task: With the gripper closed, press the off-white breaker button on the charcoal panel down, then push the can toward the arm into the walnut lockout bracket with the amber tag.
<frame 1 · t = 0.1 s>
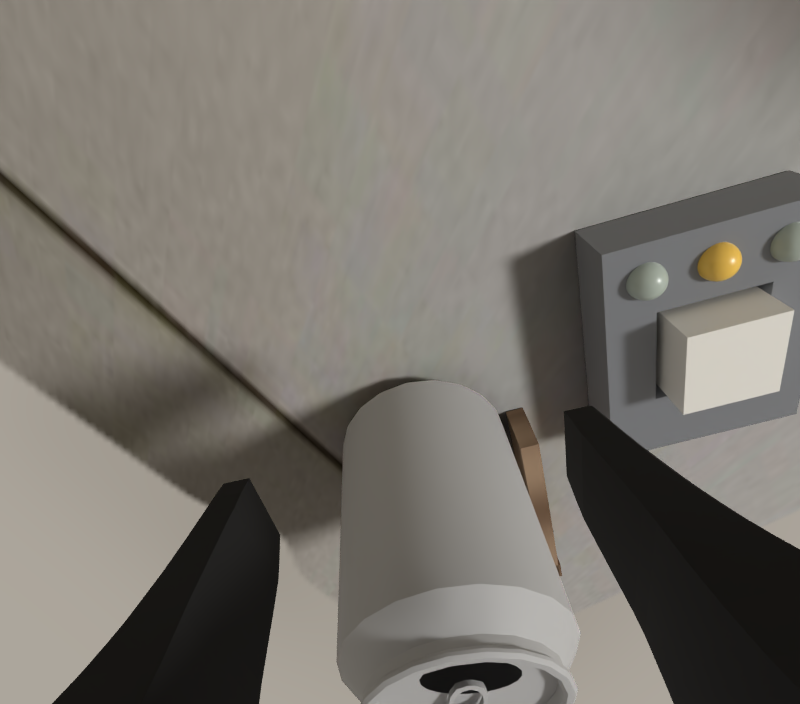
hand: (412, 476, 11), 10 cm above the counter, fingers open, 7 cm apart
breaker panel: (675, 313, 21), on the counter
lockout bracket: (452, 524, 28), on the counter
breaker: (717, 349, 19), point 3 cm above the counter, slide at 0.0 cm
can: (421, 430, 24), on the counter
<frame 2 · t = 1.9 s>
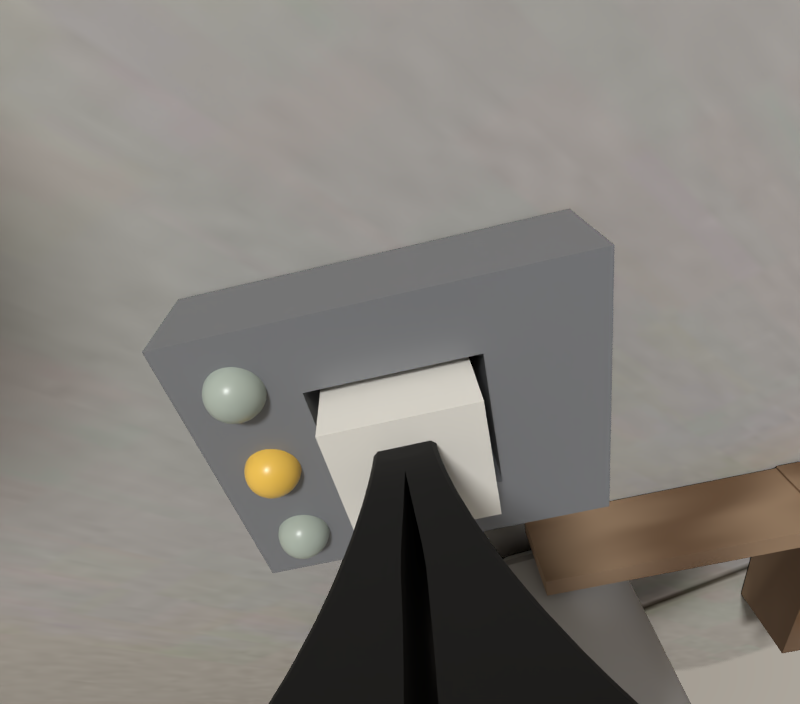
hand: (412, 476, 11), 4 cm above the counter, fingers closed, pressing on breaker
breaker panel: (403, 382, 15), on the counter
lockout bracket: (703, 561, 20), on the counter
breaker: (411, 445, 12), point 3 cm above the counter, slide at 0.3 cm, touching gripper
can: (531, 589, 21), on the counter
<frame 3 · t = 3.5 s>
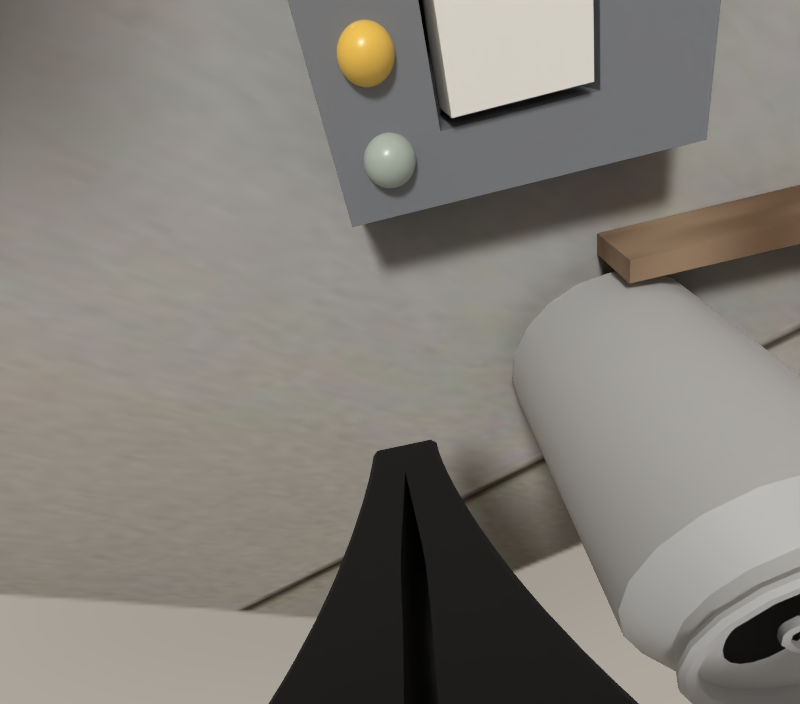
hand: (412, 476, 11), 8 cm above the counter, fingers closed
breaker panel: (487, 18, 14), on the counter
lockout bracket: (774, 308, 20), on the counter
breaker: (503, 16, 12), point 2 cm above the counter, slide at 1.1 cm
can: (596, 345, 20), on the counter
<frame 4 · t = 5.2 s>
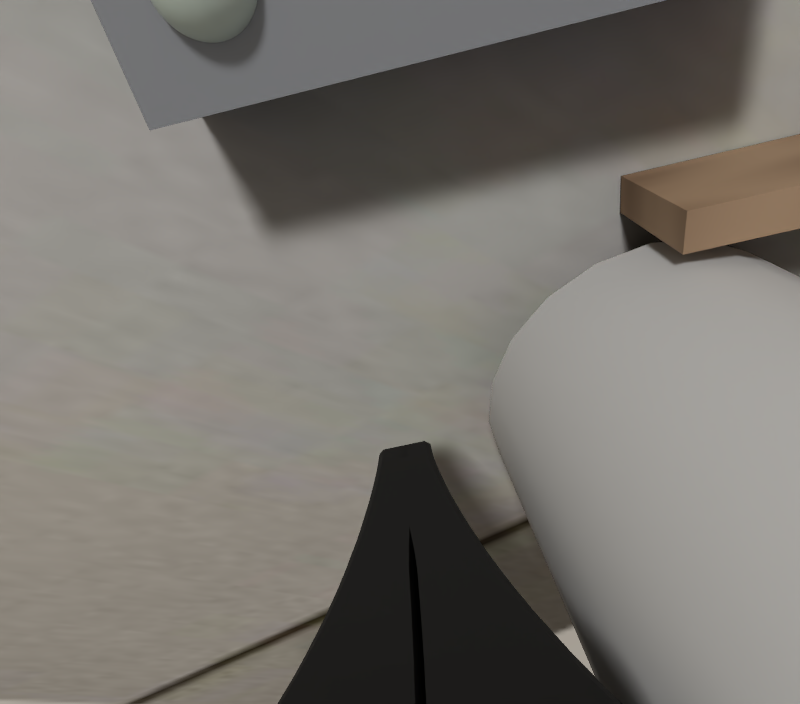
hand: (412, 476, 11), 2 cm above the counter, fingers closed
can: (616, 363, 13), on the counter, touching gripper
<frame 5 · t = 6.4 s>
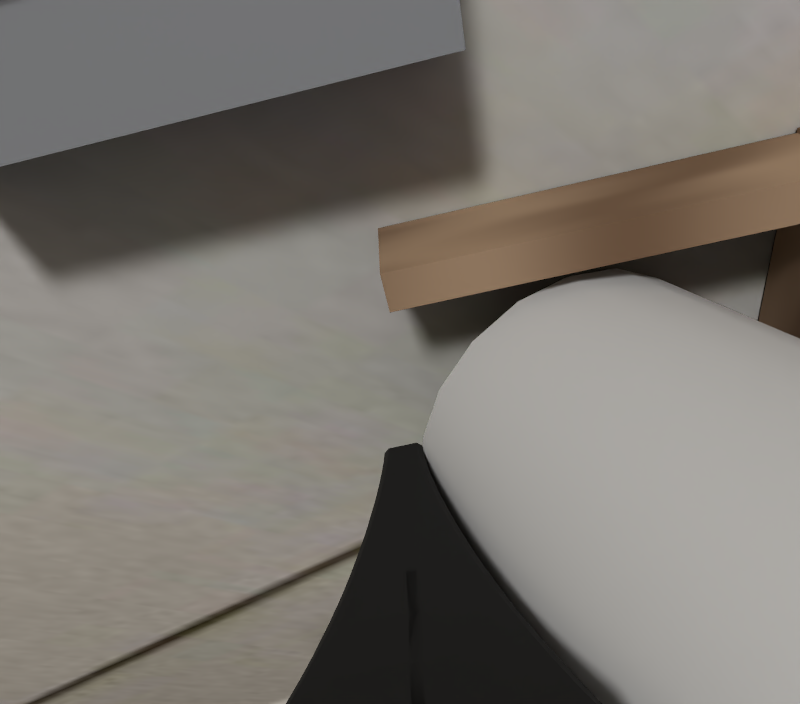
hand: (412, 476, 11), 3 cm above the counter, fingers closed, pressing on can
lockout bracket: (678, 345, 13), on the counter
can: (541, 396, 13), point 1 cm above the counter, touching gripper
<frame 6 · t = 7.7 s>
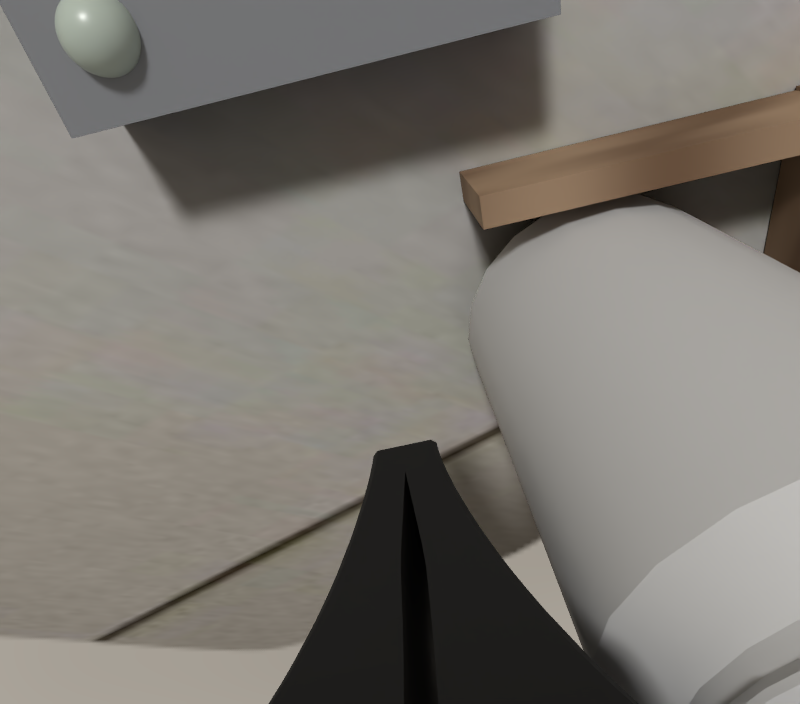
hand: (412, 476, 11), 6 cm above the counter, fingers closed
lockout bracket: (698, 275, 16), on the counter
can: (575, 301, 16), on the counter
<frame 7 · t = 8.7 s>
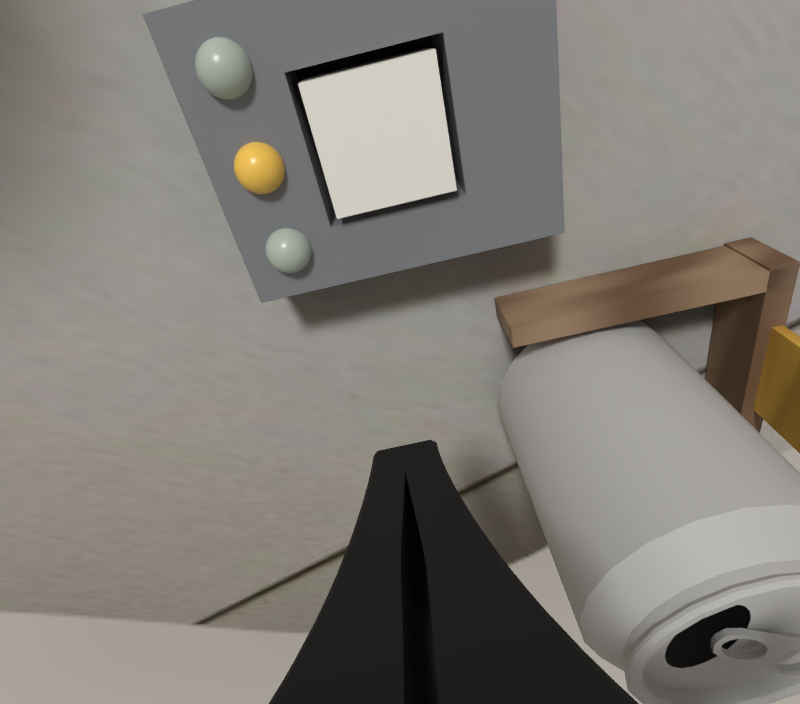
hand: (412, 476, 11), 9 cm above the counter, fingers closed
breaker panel: (378, 124, 16), on the counter
lockout bracket: (663, 360, 22), on the counter
breaker: (380, 133, 15), point 2 cm above the counter, slide at 1.1 cm
can: (574, 376, 22), on the counter
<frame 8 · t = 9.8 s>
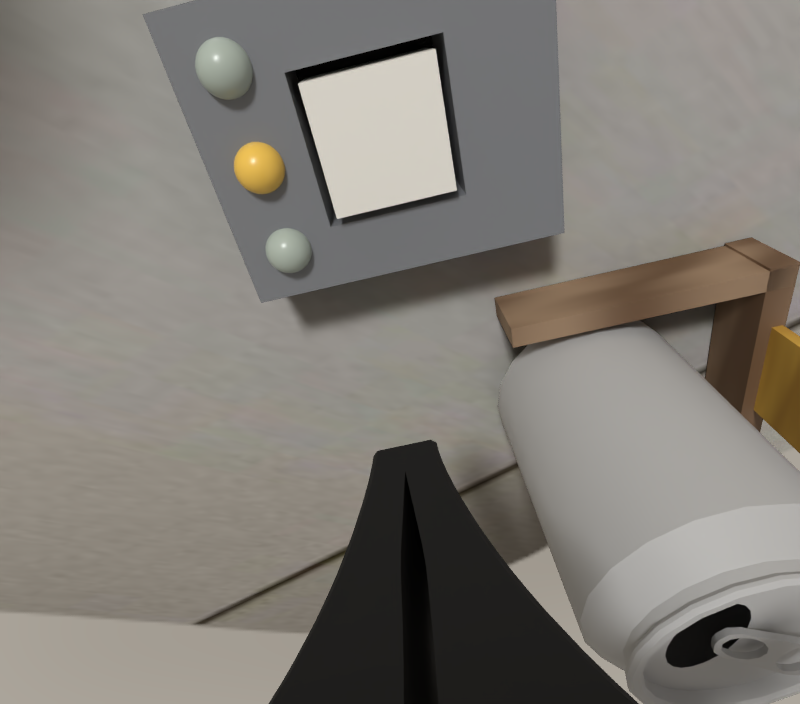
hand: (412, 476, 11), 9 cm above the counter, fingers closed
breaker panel: (378, 124, 16), on the counter
lockout bracket: (663, 360, 22), on the counter
breaker: (380, 133, 15), point 2 cm above the counter, slide at 1.1 cm
can: (574, 376, 22), on the counter
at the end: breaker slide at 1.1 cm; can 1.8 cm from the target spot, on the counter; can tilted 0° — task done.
